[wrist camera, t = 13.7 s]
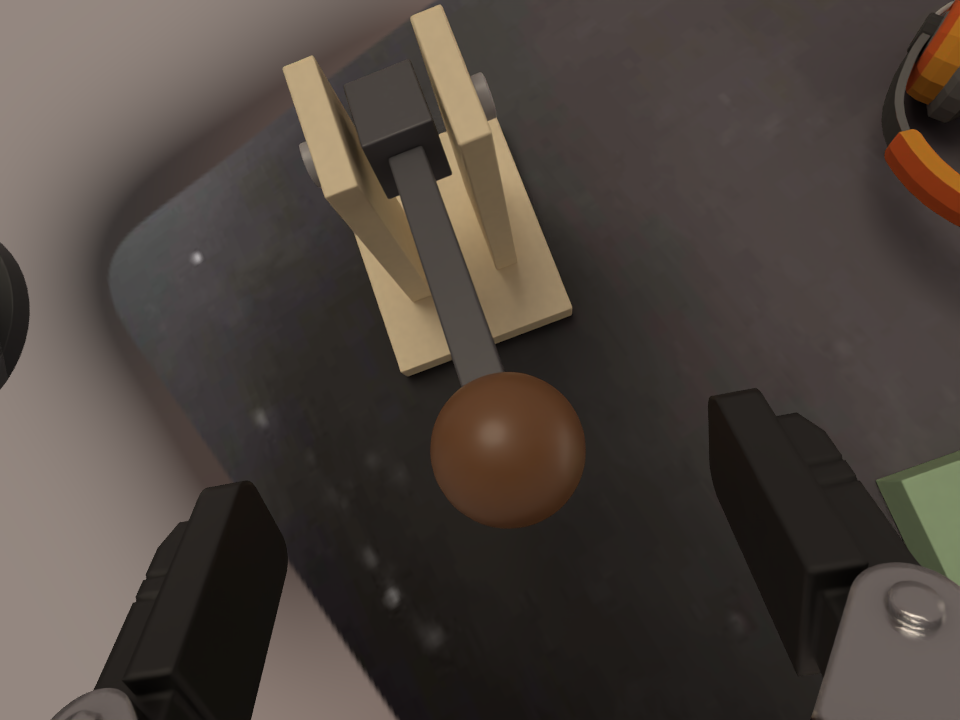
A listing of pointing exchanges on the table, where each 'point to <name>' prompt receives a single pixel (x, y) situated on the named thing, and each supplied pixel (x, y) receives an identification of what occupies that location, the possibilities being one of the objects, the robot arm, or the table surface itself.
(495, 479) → the lever
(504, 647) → the table surface
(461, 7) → the table surface
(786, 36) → the table surface
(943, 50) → the headphones
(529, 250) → the switch bracket
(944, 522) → the control block
